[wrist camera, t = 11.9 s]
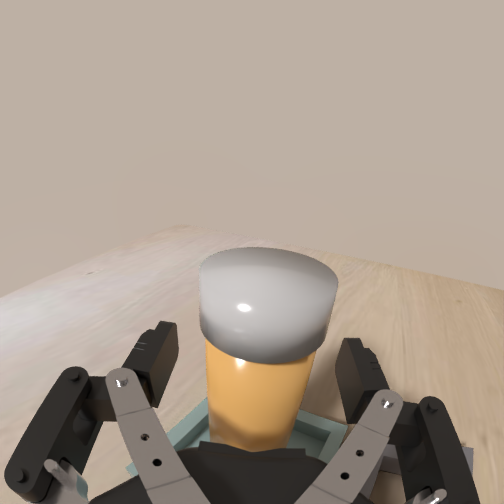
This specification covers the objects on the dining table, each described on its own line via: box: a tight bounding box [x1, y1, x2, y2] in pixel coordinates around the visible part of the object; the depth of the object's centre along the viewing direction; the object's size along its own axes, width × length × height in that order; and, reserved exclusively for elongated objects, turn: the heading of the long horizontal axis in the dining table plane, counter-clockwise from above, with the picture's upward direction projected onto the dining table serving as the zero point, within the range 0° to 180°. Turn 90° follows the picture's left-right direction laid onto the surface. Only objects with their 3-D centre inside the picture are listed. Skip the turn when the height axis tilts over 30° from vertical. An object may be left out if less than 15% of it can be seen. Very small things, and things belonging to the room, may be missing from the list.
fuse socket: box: [359, 444, 473, 499], centre depth 10 cm, size 10×10×2 cm
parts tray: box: [126, 397, 348, 478], centre depth 14 cm, size 11×10×2 cm
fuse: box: [199, 247, 338, 452], centre depth 12 cm, size 5×5×14 cm
